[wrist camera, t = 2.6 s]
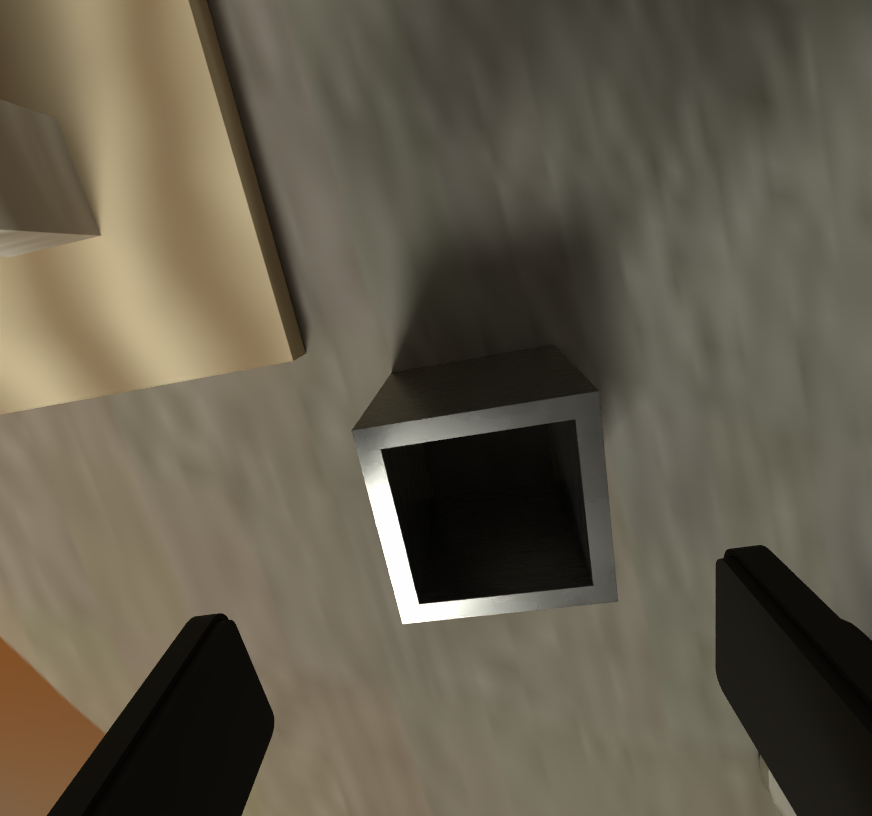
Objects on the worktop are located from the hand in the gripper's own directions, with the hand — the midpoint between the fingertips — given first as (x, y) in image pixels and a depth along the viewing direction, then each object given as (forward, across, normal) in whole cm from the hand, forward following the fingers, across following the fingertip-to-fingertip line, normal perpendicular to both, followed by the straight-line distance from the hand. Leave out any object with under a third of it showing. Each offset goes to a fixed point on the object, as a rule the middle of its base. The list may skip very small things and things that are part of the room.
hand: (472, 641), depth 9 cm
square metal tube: (+12, -1, +1) cm, 12 cm away
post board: (+13, +14, -12) cm, 23 cm away
